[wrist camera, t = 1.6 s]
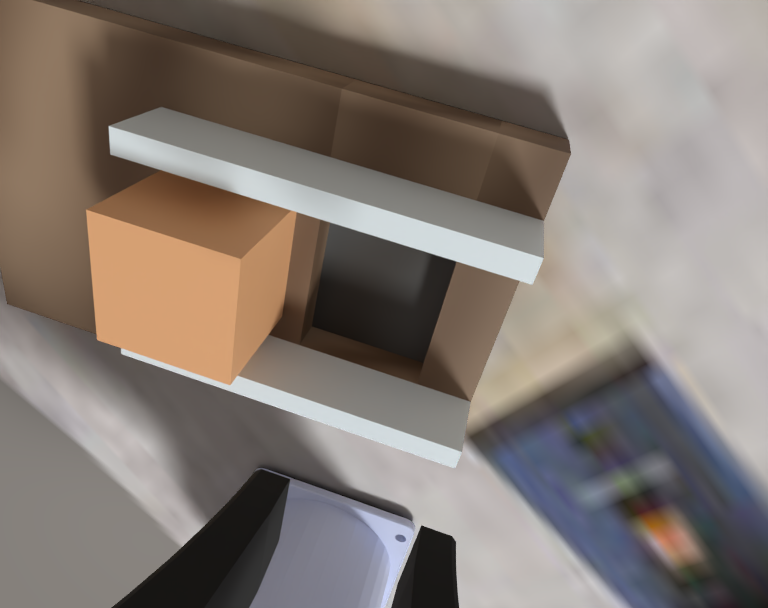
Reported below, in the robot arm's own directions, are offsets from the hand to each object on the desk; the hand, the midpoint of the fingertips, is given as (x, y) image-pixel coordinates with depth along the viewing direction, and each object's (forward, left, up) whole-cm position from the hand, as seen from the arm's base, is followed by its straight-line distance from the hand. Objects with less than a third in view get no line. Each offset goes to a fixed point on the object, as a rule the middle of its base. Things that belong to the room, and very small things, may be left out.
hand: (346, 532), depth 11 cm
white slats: (0, +3, -9) cm, 10 cm away
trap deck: (0, +7, -10) cm, 12 cm away
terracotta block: (0, +7, -9) cm, 11 cm away
